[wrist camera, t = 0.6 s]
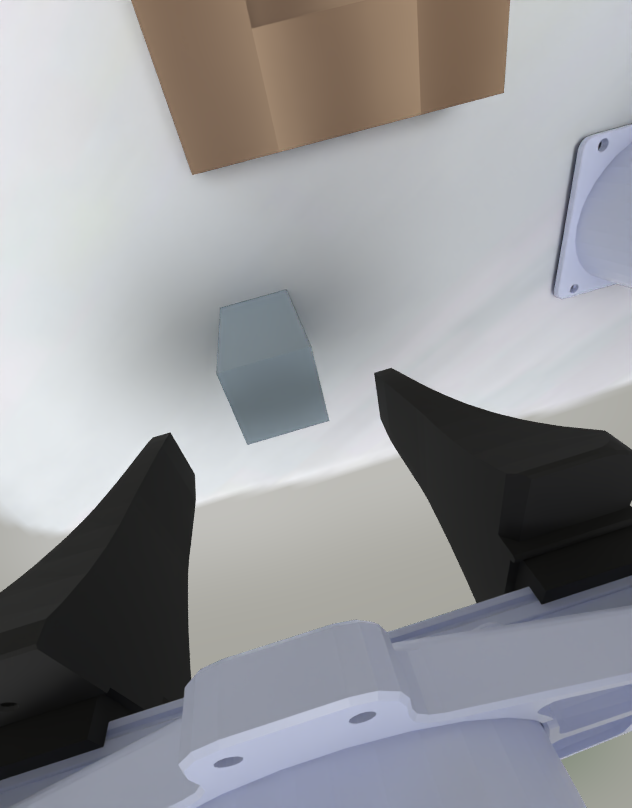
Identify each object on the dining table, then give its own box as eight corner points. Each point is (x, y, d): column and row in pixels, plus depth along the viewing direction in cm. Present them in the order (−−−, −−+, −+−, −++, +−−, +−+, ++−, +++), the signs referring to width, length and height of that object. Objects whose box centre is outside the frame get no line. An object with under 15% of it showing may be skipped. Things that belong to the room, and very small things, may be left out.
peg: (286, 289, 19) (310, 346, 13) (301, 349, 21) (329, 420, 15) (220, 308, 19) (216, 373, 13) (242, 366, 21) (247, 444, 15)
